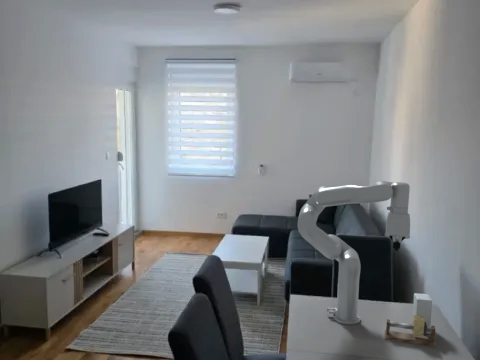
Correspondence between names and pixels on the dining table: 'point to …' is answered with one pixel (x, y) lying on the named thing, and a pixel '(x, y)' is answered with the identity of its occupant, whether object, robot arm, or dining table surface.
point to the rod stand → (410, 337)
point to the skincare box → (423, 307)
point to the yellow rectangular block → (418, 325)
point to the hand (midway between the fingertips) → (396, 249)
